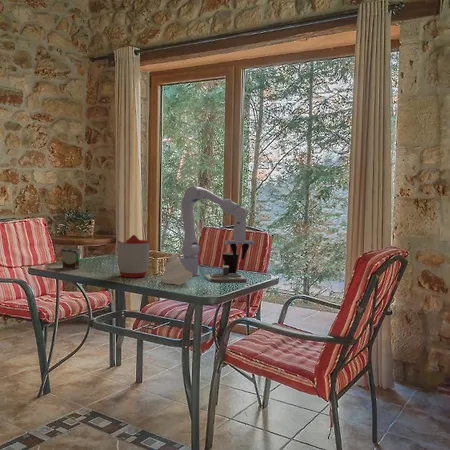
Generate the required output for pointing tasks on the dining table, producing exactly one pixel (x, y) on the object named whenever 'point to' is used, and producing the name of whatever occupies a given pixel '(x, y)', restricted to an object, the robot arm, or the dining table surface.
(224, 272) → the breaker lever
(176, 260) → the beige faceted rock
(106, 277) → the dining table surface
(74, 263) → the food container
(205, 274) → the grey square tray
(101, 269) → the dining table surface
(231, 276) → the grey flat slab
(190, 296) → the dining table surface
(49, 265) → the dining table surface
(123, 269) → the citrus juicer
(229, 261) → the coffee mug
